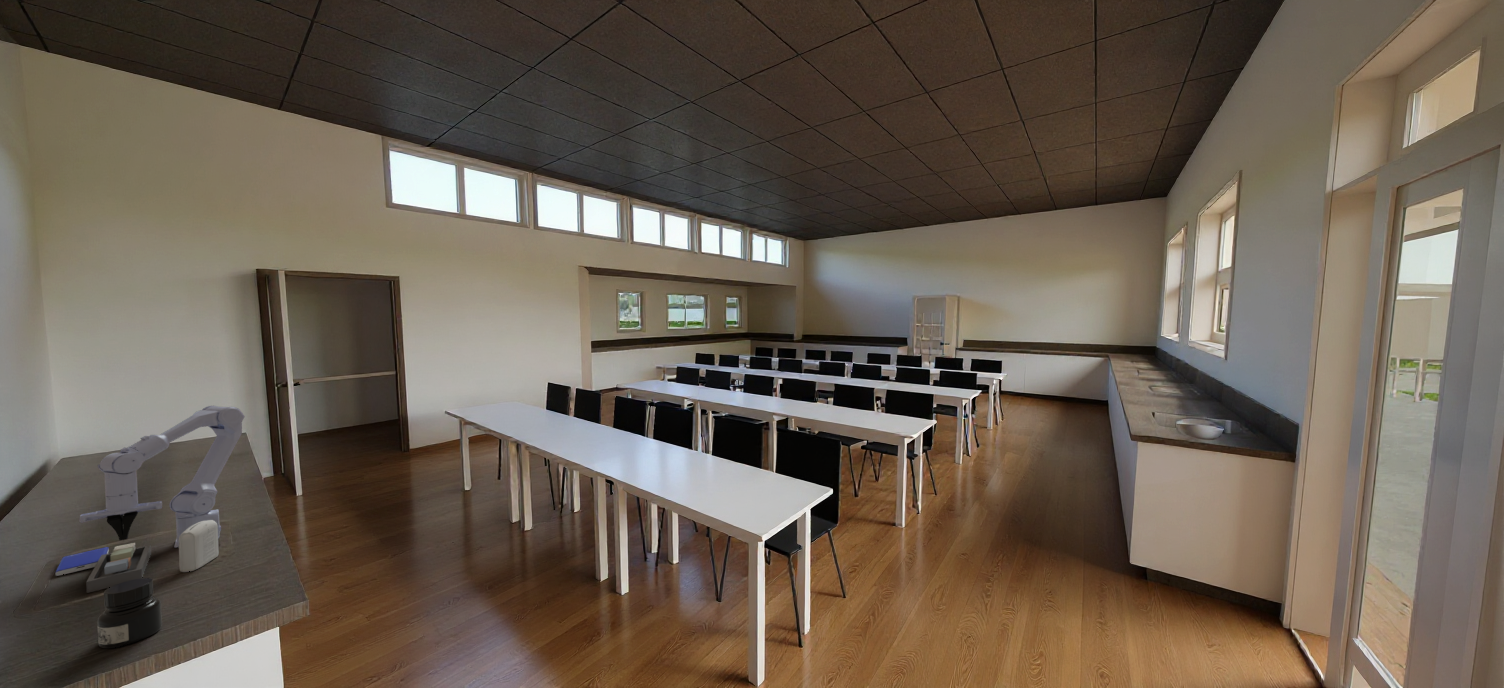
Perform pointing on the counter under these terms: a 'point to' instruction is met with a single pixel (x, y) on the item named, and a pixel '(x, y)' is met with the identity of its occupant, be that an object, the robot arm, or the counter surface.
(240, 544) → the counter surface
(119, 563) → the slate key
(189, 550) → the photo printer
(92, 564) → the hard drive
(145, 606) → the ink bottle
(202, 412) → the robot arm
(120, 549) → the cream key
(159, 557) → the counter surface
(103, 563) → the dark grey tray
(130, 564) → the terracotta key
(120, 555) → the sage key
